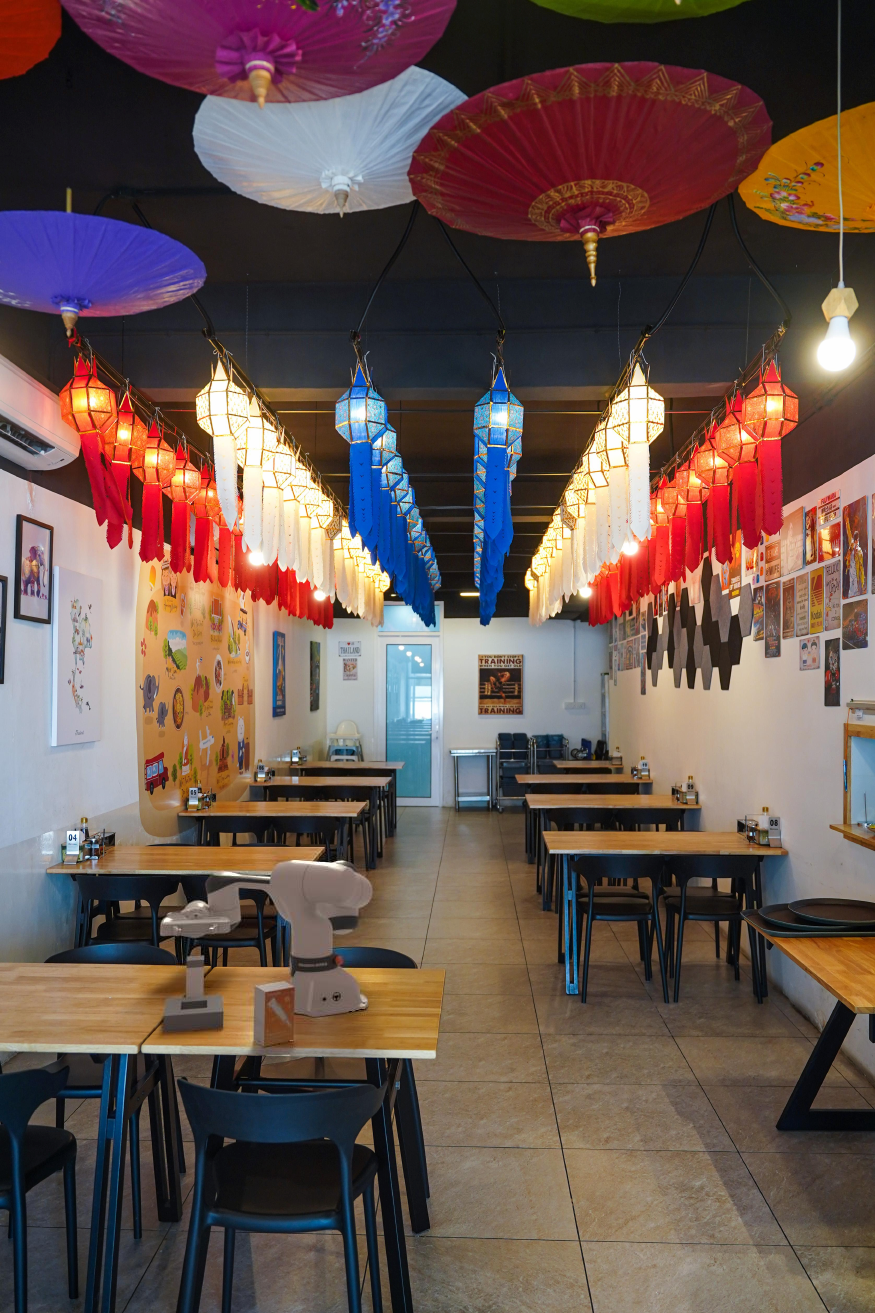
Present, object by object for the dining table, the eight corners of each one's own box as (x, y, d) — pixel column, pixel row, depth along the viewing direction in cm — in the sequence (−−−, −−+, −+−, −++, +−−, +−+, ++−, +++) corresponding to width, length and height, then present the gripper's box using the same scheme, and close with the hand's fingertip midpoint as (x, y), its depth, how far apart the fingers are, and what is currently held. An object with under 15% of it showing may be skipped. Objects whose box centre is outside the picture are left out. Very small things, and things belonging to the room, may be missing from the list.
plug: (203, 999, 249) (204, 955, 250) (203, 1004, 244) (203, 959, 245) (186, 1000, 247) (187, 956, 248) (185, 1005, 243) (186, 960, 244)
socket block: (222, 1010, 239) (222, 994, 240) (223, 1027, 225) (223, 1011, 226) (165, 1014, 236) (166, 998, 236) (163, 1032, 222) (163, 1016, 222)
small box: (263, 1048, 211) (264, 992, 212) (252, 1040, 216) (253, 985, 217) (294, 1041, 216) (295, 986, 217) (283, 1033, 221) (283, 980, 222)
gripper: (230, 931, 275) (231, 941, 261) (161, 934, 270) (158, 945, 256) (230, 910, 275) (231, 919, 262) (162, 913, 270) (159, 922, 257)
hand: (195, 932), depth 259 cm, fingers open, 8 cm apart
